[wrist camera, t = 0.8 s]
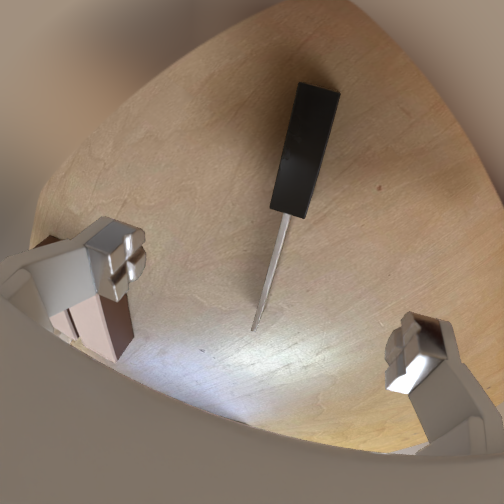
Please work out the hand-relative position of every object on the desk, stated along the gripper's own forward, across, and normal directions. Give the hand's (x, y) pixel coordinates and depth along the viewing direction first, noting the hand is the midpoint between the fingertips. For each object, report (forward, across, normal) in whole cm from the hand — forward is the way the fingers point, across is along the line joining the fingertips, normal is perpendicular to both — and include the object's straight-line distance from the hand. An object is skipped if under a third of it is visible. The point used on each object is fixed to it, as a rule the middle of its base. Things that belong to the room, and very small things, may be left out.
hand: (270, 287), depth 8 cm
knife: (+15, +1, +6) cm, 16 cm away
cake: (+15, +25, +25) cm, 38 cm away
